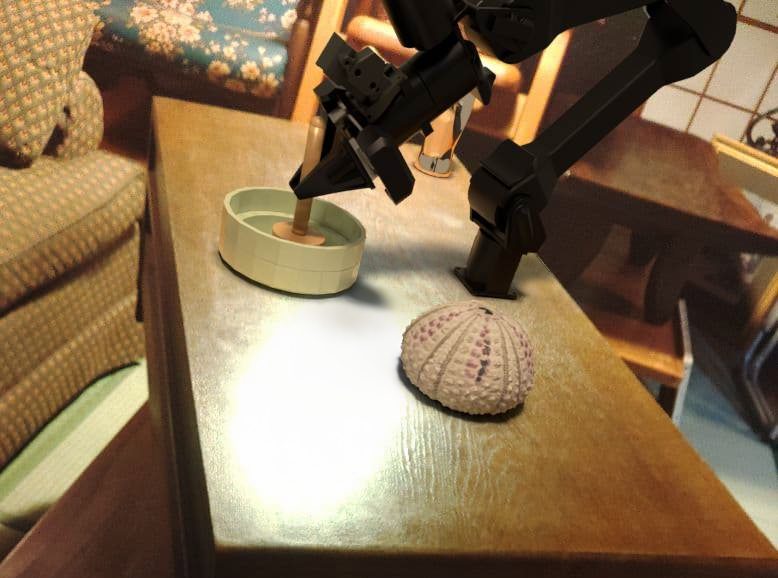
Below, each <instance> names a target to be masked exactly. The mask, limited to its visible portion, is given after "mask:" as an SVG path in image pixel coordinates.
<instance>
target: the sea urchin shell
mask: <svg viewBox="0 0 778 578" xmlns="http://www.w3.org/2000/svg"><path fill="white" fill-rule="evenodd" d="M401 336H402V340H401V343H400V349H401V353H400V356H399V357H400V360H401V361H402V369H403V370H405V376H406V377H407V378H409V381H410V383H411V384H412V385H414V386H415V387H416V388H418V389H419V391H420V392H421V393H422V394H423V395H426V396H428V397H429V399H430V400H433V401H438V402H440V403H441V405H442V407H448V408H449V409H450V410H452V411H458V412H460V413H461V412H463V413H468V414H470V416H472V415H478V414H480V415H484V414H490V415H492V416H494V415H497V414H500V413H504V414H505V413H506V412H507V410H512V409H515V408H516V407H517V405H519V404H522V403H523V402H524V399H525V398H528V396H529V395H530V391H532V389H533V388H534V385H533V384H534V383H535V382H536V378H535V374H536V373H537V371H538V370H537V368H536V365H535V361H536V358H537V357H536V356H535V353H534V349H535V347H533V345H532V342H531V340H530V337H529V335H528V334H527V332H526V331H525V329H524V327H523V326H522V324H521V323H520V322H519V321H518V320H517V319H516V318H515V317H513V316H511V315H510V314H508V313H505V312H504V311H502V310H500V309H498V308H496V307H495V306H494V305H492V304H490V303H487V302H485V301H484V300H483V301H482V300H477V299H469V300H461V301H459V300H458V301H457V300H456V301H450V300H447V302H445V303H443V304H441V303H437V306H435V307H430V309H427V310H426V311H424V312H422V313H421V314H419V315H417V317H416V318H413V319H411V320H410V324H408V325H406V326H405V331H403V333H402V334H401Z"/></svg>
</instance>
